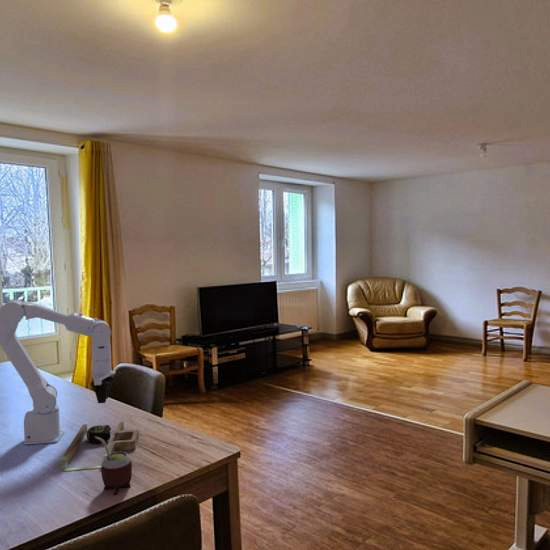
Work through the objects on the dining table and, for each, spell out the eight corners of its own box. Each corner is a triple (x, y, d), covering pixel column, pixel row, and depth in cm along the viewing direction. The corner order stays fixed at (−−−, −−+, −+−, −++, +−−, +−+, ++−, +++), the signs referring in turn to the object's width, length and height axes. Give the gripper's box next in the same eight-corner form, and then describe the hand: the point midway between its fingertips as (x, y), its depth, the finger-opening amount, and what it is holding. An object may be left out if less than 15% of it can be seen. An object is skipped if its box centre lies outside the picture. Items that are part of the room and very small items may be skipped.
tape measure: (110, 443, 140) (110, 431, 139) (86, 446, 138) (85, 434, 137) (111, 434, 146) (110, 423, 146) (87, 437, 144) (87, 425, 144)
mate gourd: (134, 479, 118) (132, 421, 117) (129, 496, 110) (127, 434, 109) (103, 482, 116) (101, 423, 115) (96, 499, 109) (94, 436, 108)
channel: (58, 471, 122) (58, 461, 122) (82, 432, 148) (82, 423, 148) (130, 465, 125) (130, 455, 125) (141, 427, 151) (141, 419, 151)
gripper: (110, 364, 142) (112, 407, 143) (118, 353, 156) (119, 392, 157) (86, 365, 141) (88, 409, 142) (96, 354, 155) (97, 394, 156)
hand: (103, 400), depth 149 cm, fingers open, 3 cm apart
